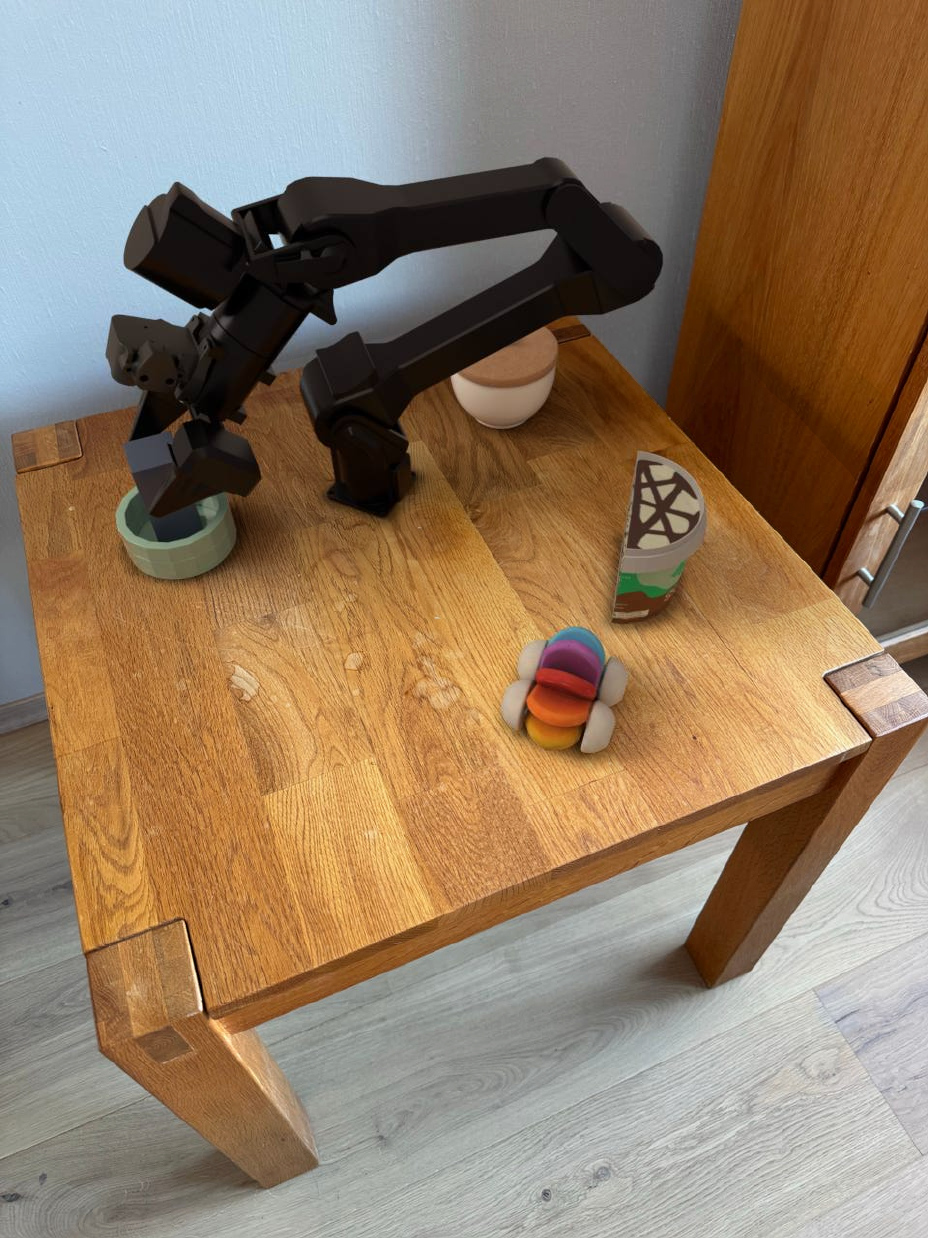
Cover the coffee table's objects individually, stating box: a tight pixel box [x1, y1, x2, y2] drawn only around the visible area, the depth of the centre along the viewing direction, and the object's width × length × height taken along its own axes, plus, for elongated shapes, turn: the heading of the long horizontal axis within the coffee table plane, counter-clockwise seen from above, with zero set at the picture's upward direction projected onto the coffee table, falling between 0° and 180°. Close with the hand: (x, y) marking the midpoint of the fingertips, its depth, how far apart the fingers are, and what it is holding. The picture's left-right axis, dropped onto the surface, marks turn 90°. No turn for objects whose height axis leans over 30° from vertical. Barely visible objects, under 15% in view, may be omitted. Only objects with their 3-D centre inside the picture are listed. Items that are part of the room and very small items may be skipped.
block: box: [122, 430, 204, 542], centre depth 79 cm, size 4×4×10 cm
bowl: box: [115, 485, 238, 581], centre depth 82 cm, size 10×10×4 cm
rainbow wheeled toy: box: [500, 625, 630, 754], centre depth 68 cm, size 8×10×7 cm
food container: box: [610, 450, 708, 625], centre depth 75 cm, size 12×6×10 cm, turn 168°
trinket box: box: [450, 326, 559, 430], centre depth 91 cm, size 11×11×9 cm
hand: (143, 479), depth 77 cm, fingers open, 9 cm apart
